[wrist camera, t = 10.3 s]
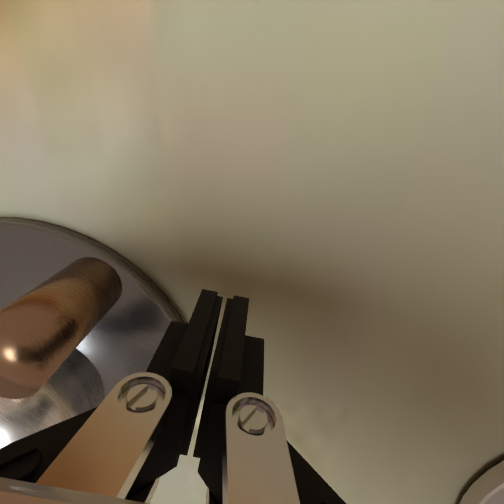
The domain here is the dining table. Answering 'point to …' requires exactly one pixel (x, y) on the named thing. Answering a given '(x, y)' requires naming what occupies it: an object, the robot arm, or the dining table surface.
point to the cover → (53, 400)
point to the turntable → (72, 308)
